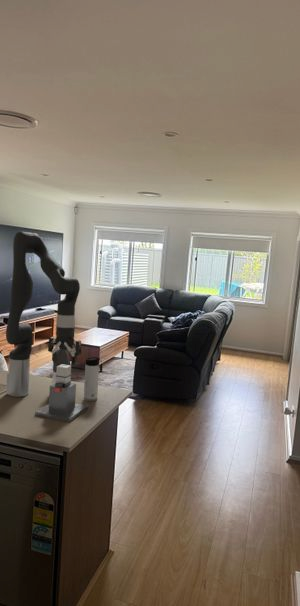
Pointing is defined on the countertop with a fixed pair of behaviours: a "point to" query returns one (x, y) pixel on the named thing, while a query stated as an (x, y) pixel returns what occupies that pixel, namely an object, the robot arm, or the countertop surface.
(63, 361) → the wine bottle
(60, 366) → the block
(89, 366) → the travel mug
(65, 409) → the stepped pedestal base
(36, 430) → the countertop surface
